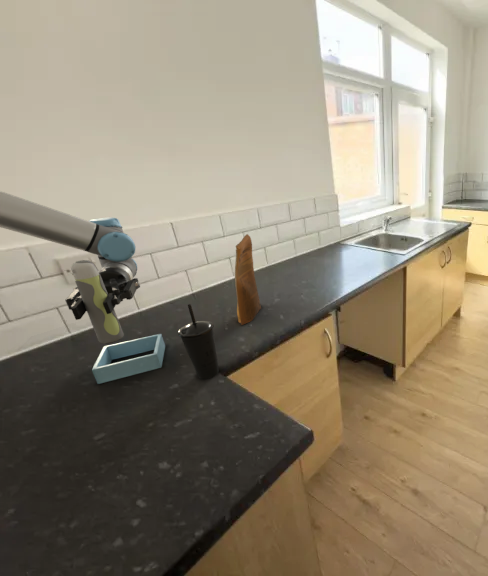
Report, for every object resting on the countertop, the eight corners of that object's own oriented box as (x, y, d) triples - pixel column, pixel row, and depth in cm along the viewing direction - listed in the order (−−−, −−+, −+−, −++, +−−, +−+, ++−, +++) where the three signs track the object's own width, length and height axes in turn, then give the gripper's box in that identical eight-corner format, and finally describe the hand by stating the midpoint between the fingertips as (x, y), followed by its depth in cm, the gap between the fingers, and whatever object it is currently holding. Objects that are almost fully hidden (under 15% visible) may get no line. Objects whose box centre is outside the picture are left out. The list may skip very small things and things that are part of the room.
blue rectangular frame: (98, 384, 80) (91, 370, 79) (109, 359, 91) (103, 346, 89) (161, 368, 86) (156, 353, 85) (165, 346, 97) (161, 333, 95)
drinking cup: (184, 381, 81) (162, 310, 73) (207, 363, 87) (188, 297, 80) (210, 385, 79) (189, 313, 71) (231, 367, 86) (214, 299, 78)
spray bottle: (94, 343, 76) (60, 263, 69) (115, 333, 81) (85, 257, 73) (109, 346, 75) (76, 265, 67) (129, 335, 79) (100, 258, 72)
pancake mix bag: (269, 303, 124) (256, 232, 114) (253, 327, 106) (236, 245, 96) (251, 304, 124) (237, 233, 113) (232, 328, 106) (213, 246, 96)
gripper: (155, 286, 94) (145, 316, 75) (77, 299, 86) (44, 336, 67) (147, 261, 91) (135, 287, 72) (66, 273, 83) (28, 304, 64)
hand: (91, 310), depth 70 cm, fingers closed on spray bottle, 5 cm apart
